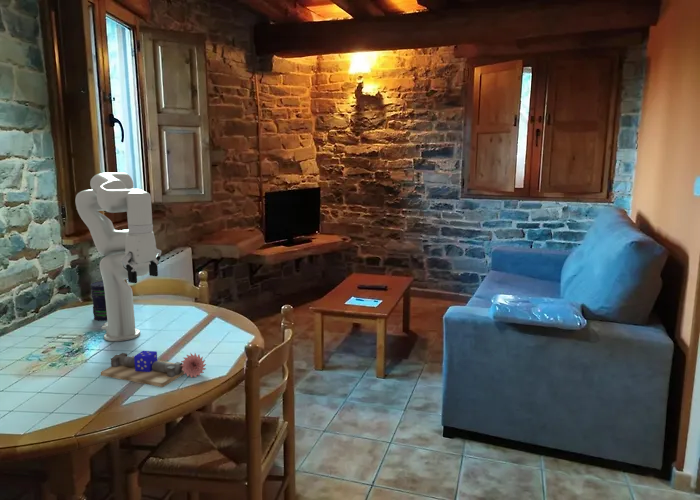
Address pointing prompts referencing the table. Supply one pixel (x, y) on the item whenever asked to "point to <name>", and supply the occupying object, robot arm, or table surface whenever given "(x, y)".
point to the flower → (193, 365)
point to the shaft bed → (158, 376)
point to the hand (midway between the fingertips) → (143, 279)
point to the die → (145, 360)
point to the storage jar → (99, 301)
